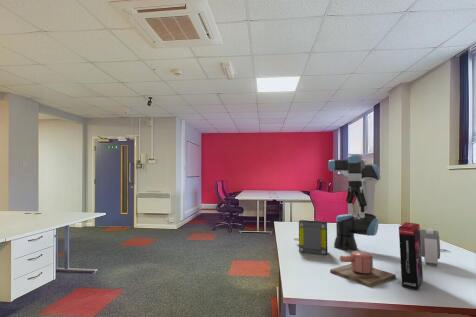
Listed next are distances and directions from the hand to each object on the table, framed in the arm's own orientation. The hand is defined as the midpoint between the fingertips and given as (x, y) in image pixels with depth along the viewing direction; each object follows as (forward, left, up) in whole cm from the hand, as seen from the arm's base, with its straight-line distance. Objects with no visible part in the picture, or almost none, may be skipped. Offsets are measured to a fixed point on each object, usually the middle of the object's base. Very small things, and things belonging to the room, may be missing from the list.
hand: (356, 215), depth 161 cm
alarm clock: (+25, +33, -27) cm, 49 cm away
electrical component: (-27, -8, -27) cm, 39 cm away
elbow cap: (+14, -21, -24) cm, 35 cm away
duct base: (+15, -19, -27) cm, 36 cm away
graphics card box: (+34, -9, -27) cm, 44 cm away
